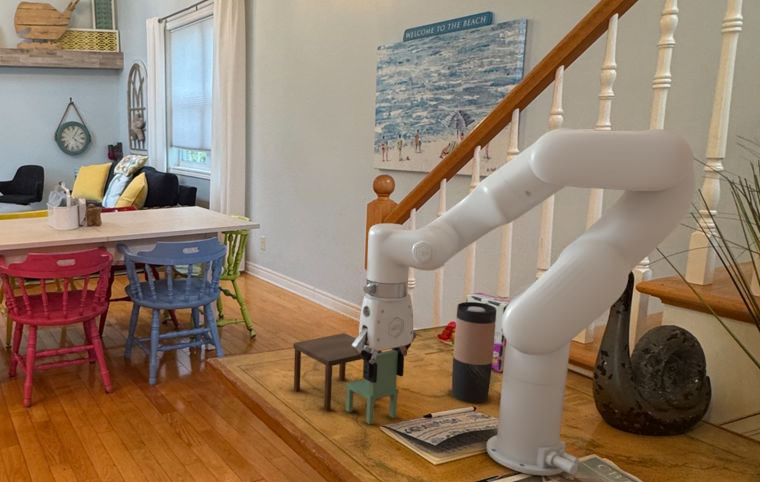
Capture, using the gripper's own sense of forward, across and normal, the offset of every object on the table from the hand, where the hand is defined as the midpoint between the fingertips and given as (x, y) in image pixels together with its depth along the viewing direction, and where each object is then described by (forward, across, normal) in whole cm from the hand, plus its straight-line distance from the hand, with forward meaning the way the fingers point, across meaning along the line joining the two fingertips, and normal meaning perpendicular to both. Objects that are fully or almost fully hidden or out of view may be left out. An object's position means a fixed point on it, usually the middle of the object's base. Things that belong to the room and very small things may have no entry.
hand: (383, 376), depth 125 cm
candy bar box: (+10, +44, +11) cm, 46 cm away
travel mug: (+10, +25, 0) cm, 27 cm away
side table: (+9, 0, +14) cm, 17 cm away
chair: (+9, 0, +3) cm, 10 cm away
